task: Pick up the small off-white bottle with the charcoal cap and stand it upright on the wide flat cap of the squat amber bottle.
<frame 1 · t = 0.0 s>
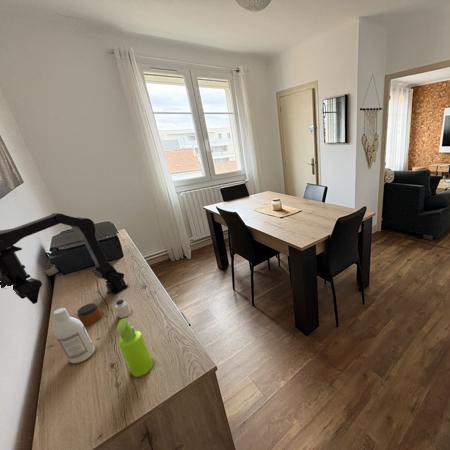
hand: (29, 300, 92), 15 cm above the table, tool pointing down, fingers open, 9 cm apart
amber bottle: (92, 319, 102), on the table
soap dispenser: (142, 370, 78), on the table
white bottle: (125, 314, 104), on the table
bath foam: (83, 355, 85), on the table
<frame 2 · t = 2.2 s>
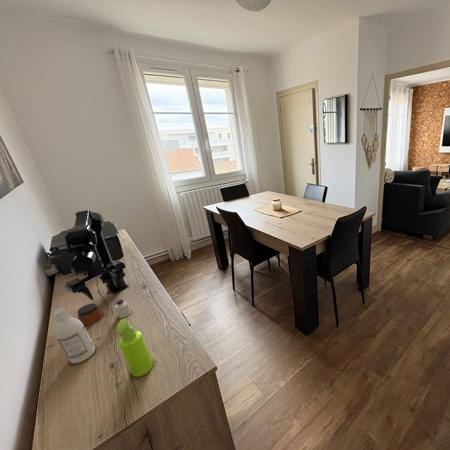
hand: (104, 292, 98), 12 cm above the table, tool pointing down, fingers open, 9 cm apart
nothing on the table moved.
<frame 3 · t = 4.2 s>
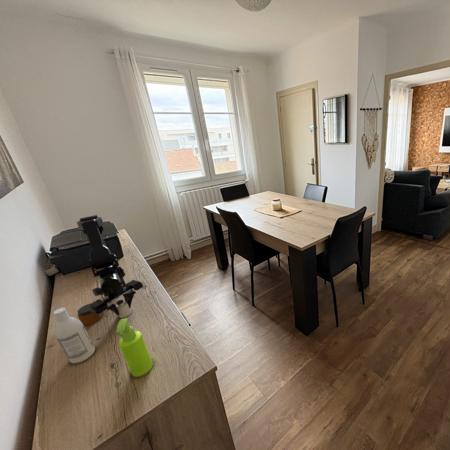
hand: (123, 311, 103), 2 cm above the table, tool pointing down, fingers closed on white bottle, 4 cm apart
white bottle: (125, 314, 104), on the table, touching gripper
everything else where it was.
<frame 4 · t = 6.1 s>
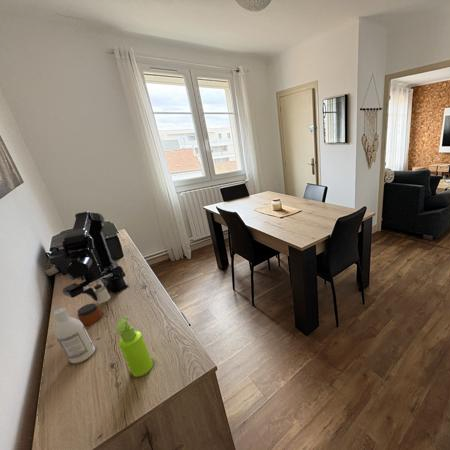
hand: (102, 296, 99), 10 cm above the table, tool pointing down, fingers closed on white bottle, 4 cm apart
white bottle: (103, 299, 100), point 9 cm above the table, touching gripper
everything else where it was.
when the fingers open (7 cm above the table, at t = 8.1 s): white bottle stays where it is, resting on amber bottle.
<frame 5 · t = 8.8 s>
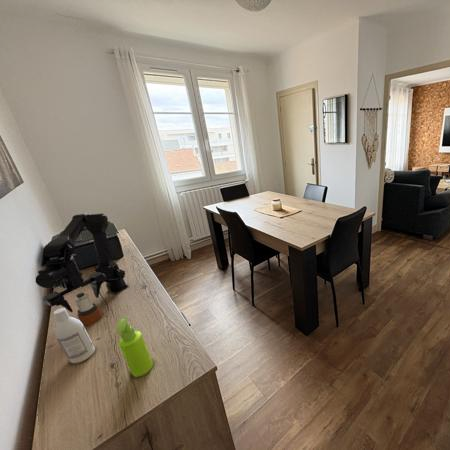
hand: (84, 304, 99), 8 cm above the table, tool pointing down, fingers open, 9 cm apart
amber bottle: (92, 319, 102), on the table, touching white bottle
white bottle: (86, 308, 100), point 6 cm above the table, touching amber bottle
everything else where it was.
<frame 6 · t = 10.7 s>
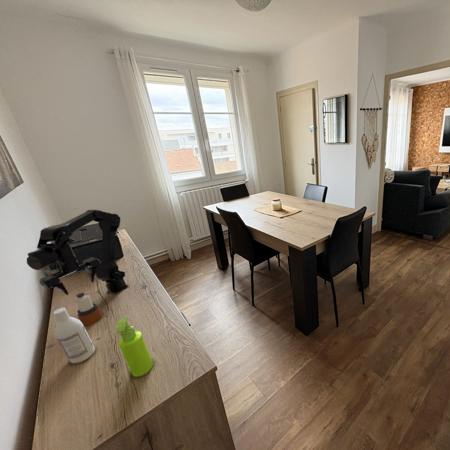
hand: (80, 288, 103), 12 cm above the table, tool pointing down, fingers open, 9 cm apart
nothing on the table moved.
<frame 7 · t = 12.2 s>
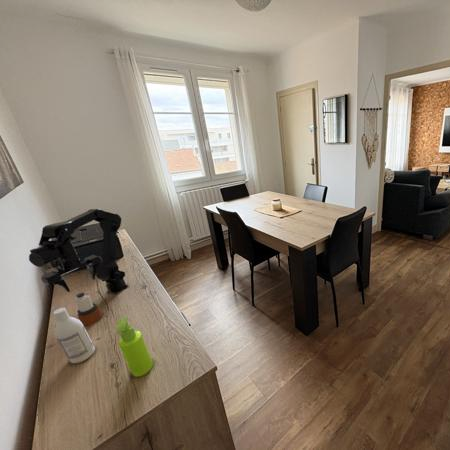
hand: (81, 285, 103), 13 cm above the table, tool pointing down, fingers open, 9 cm apart
nothing on the table moved.
at the end: white bottle 0.0 cm off-centre on the amber bottle, point 6.0 cm above the amber bottle's base; white bottle tilted 0°; amber bottle tilted 0° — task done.
